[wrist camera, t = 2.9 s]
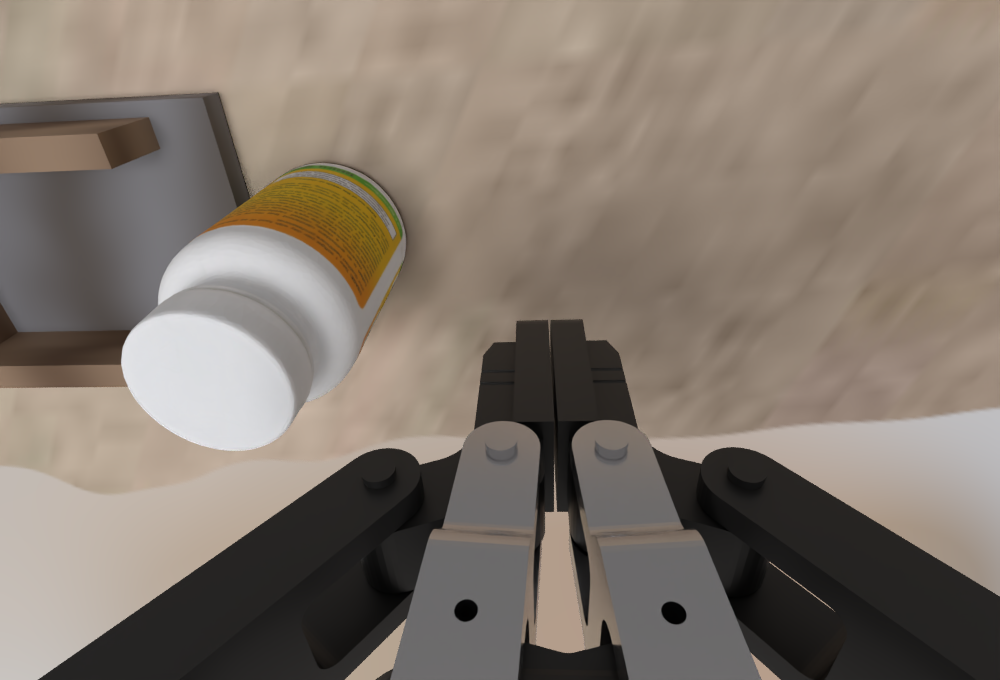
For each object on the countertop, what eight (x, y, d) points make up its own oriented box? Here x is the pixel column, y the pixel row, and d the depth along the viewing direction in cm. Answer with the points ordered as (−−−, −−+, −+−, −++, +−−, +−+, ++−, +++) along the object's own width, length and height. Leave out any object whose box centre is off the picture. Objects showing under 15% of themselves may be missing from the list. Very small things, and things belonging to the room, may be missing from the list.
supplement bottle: (256, 150, 19) (49, 267, 11) (409, 169, 19) (315, 298, 11) (274, 287, 22) (120, 460, 14) (407, 303, 22) (331, 485, 14)
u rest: (217, 92, 18) (156, 111, 15) (293, 345, 24) (258, 396, 21) (-112, 109, 19) (-230, 130, 16) (32, 349, 25) (-37, 398, 22)
